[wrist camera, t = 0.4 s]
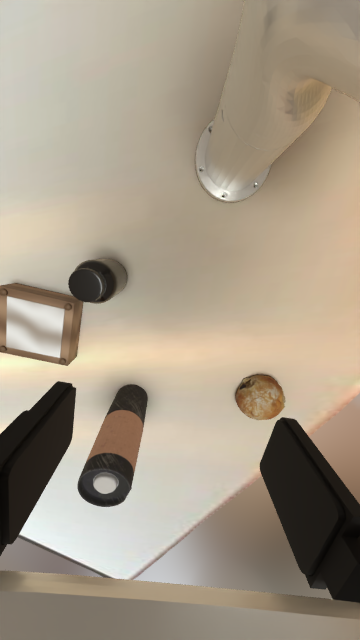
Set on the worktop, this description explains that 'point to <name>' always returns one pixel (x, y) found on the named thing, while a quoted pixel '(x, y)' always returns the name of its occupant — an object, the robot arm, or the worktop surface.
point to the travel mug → (115, 450)
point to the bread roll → (260, 397)
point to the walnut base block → (39, 323)
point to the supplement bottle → (97, 280)
